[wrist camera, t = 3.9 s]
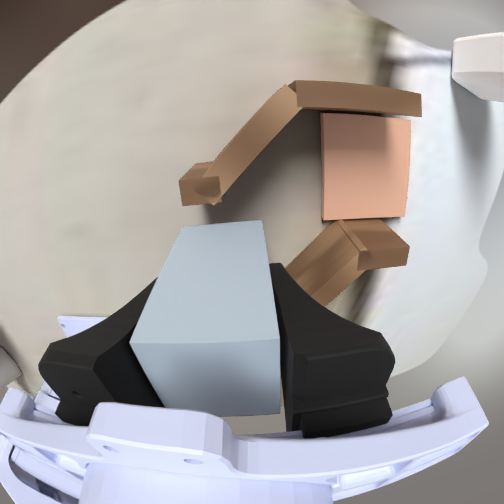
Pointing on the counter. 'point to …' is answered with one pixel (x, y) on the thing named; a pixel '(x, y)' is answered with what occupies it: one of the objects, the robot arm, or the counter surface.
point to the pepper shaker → (480, 65)
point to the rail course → (339, 231)
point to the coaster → (364, 166)
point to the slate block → (213, 324)
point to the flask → (7, 369)
